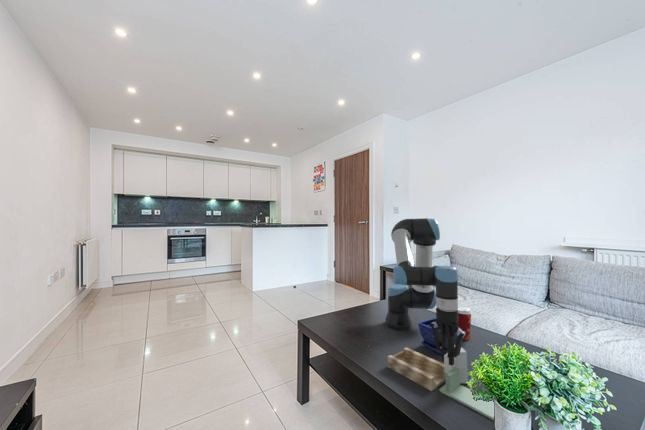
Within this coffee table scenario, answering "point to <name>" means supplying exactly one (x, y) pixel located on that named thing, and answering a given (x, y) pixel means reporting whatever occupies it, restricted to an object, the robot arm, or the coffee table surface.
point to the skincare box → (461, 365)
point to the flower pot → (429, 335)
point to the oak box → (418, 368)
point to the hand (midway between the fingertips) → (448, 372)
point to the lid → (465, 394)
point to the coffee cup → (464, 321)
